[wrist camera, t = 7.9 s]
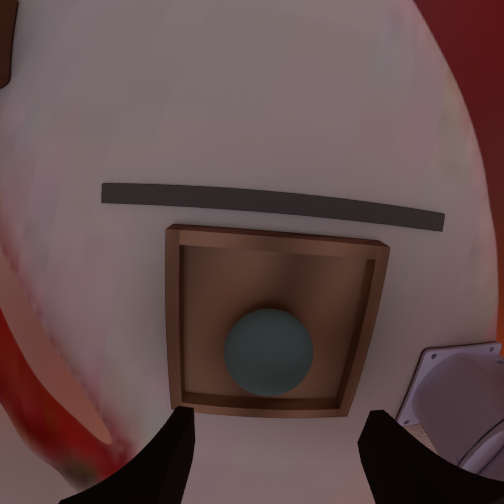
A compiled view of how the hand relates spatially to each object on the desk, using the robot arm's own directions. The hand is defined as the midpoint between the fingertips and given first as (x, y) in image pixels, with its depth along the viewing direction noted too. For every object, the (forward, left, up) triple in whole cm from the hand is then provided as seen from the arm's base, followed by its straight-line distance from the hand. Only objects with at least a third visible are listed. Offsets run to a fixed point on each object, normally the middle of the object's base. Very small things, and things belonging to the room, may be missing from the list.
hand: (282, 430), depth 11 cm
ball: (0, 0, -6) cm, 6 cm away
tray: (0, 0, -9) cm, 9 cm away
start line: (0, -8, -9) cm, 12 cm away
